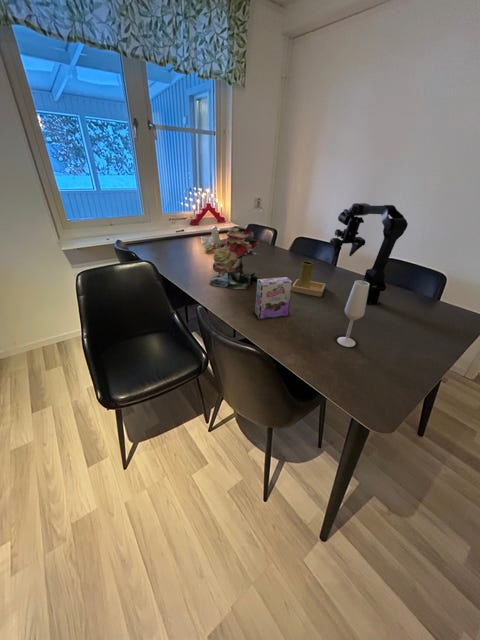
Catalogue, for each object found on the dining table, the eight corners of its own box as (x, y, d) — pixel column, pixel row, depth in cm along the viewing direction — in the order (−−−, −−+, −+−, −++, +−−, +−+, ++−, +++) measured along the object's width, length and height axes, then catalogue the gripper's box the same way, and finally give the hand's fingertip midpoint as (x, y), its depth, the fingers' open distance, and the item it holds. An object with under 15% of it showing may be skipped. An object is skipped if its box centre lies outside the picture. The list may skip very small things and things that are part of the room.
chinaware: (198, 244, 223) (195, 224, 215) (218, 241, 227) (215, 221, 218) (205, 254, 200) (201, 231, 192) (227, 251, 204) (224, 228, 195)
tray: (324, 288, 148) (325, 283, 146) (321, 296, 138) (322, 291, 137) (296, 283, 153) (297, 278, 151) (291, 291, 144) (291, 286, 142)
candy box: (258, 319, 117) (261, 283, 108) (254, 313, 121) (256, 278, 113) (288, 316, 120) (293, 281, 112) (283, 310, 125) (287, 276, 117)
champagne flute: (351, 336, 107) (367, 279, 95) (358, 346, 101) (376, 287, 89) (334, 336, 106) (348, 279, 94) (340, 346, 101) (356, 286, 89)
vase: (309, 291, 143) (313, 265, 136) (297, 290, 144) (301, 263, 137) (309, 286, 148) (313, 261, 141) (297, 285, 149) (301, 260, 142)
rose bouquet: (224, 269, 169) (223, 219, 154) (266, 279, 156) (270, 225, 141) (198, 282, 150) (195, 226, 135) (243, 295, 137) (246, 234, 122)
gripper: (357, 222, 149) (348, 249, 159) (328, 223, 144) (320, 251, 154) (370, 230, 141) (360, 258, 151) (340, 231, 136) (331, 260, 146)
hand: (342, 256), depth 151 cm, fingers open, 9 cm apart
